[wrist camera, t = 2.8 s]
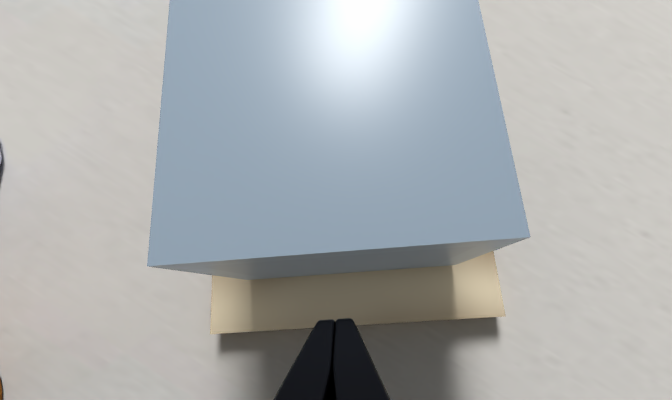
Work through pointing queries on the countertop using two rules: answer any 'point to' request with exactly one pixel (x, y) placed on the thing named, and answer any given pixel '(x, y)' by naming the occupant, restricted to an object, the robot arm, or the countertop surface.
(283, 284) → the flat panel
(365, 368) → the robot arm
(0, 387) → the disposable coffee cup
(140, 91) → the countertop surface
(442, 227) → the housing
